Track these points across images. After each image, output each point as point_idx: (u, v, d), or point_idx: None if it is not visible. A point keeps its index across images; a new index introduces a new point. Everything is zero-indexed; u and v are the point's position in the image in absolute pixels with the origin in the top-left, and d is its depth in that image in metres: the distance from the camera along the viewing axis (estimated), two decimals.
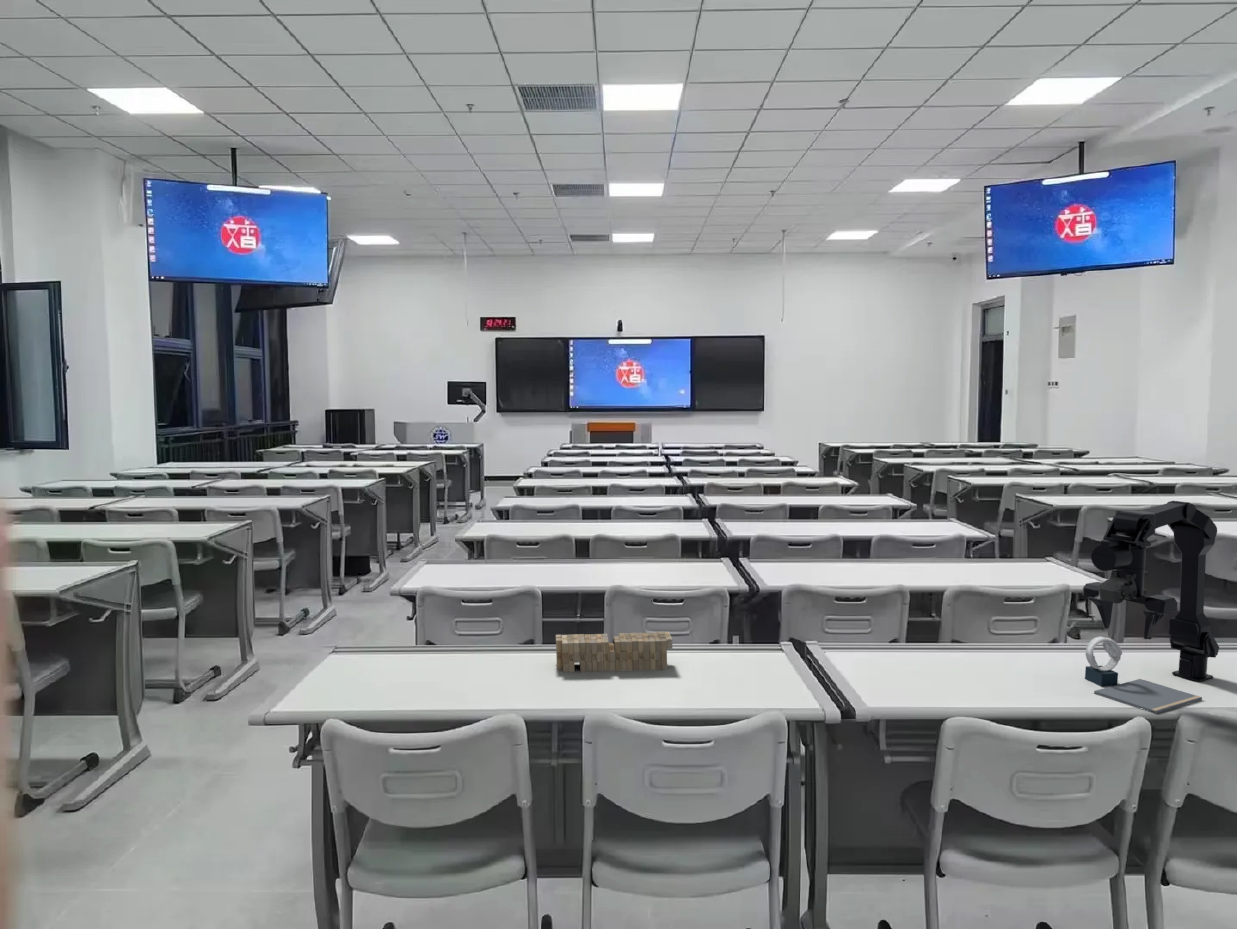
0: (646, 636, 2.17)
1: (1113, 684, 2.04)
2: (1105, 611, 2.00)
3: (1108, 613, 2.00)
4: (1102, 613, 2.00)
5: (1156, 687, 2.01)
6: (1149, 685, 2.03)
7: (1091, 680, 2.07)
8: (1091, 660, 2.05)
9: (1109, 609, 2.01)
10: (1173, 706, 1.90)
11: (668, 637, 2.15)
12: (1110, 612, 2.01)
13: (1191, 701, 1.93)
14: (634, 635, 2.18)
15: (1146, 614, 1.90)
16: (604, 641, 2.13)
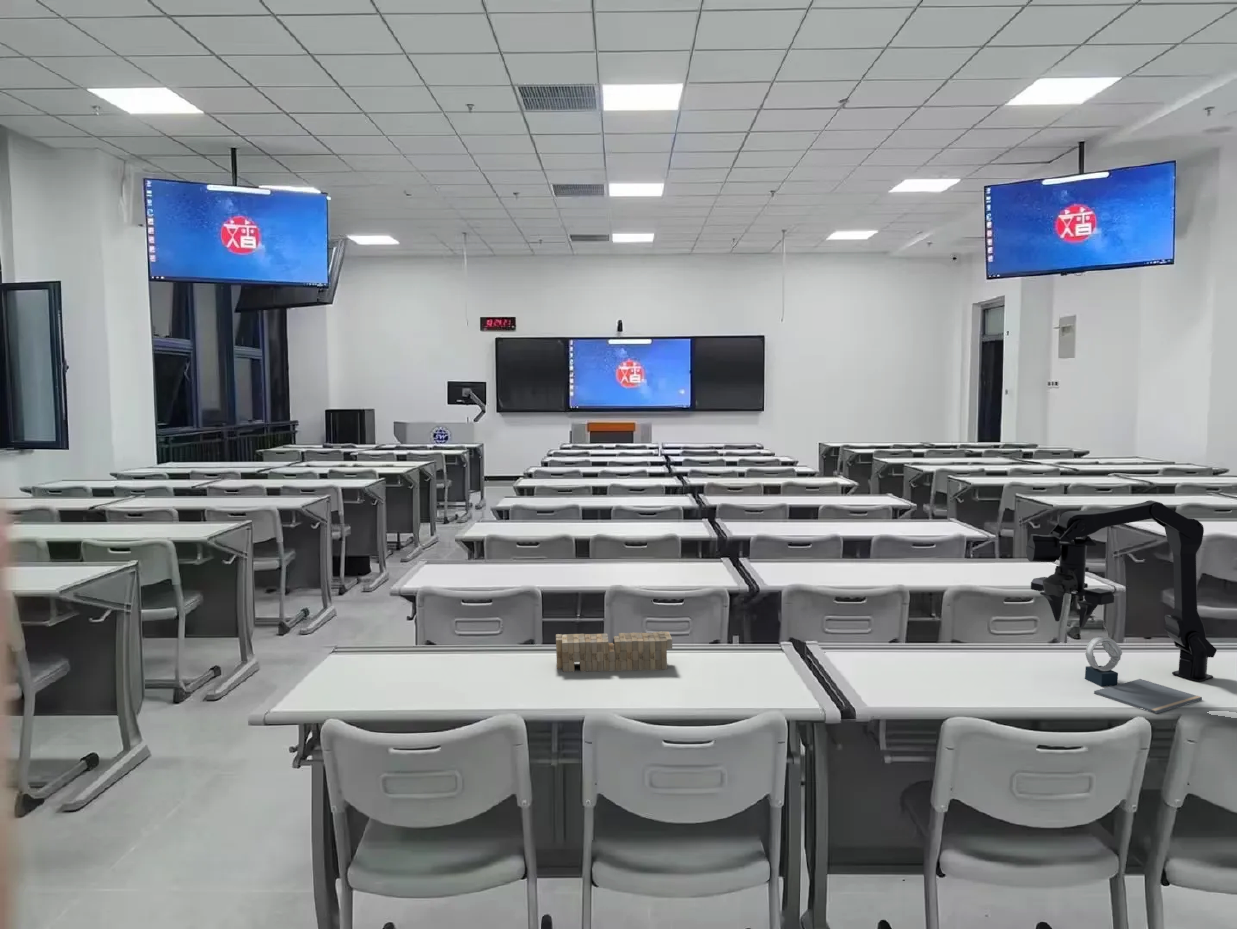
0: (646, 636, 2.18)
1: (1113, 684, 2.04)
2: (1056, 605, 2.16)
3: (1059, 607, 2.16)
4: (1053, 607, 2.16)
5: (1156, 687, 2.01)
6: (1149, 685, 2.03)
7: (1091, 680, 2.07)
8: (1091, 660, 2.05)
9: (1059, 603, 2.16)
10: (1173, 706, 1.90)
11: (668, 637, 2.16)
12: (1060, 606, 2.17)
13: (1191, 701, 1.93)
14: (634, 635, 2.18)
15: (1080, 605, 2.08)
16: (604, 640, 2.14)
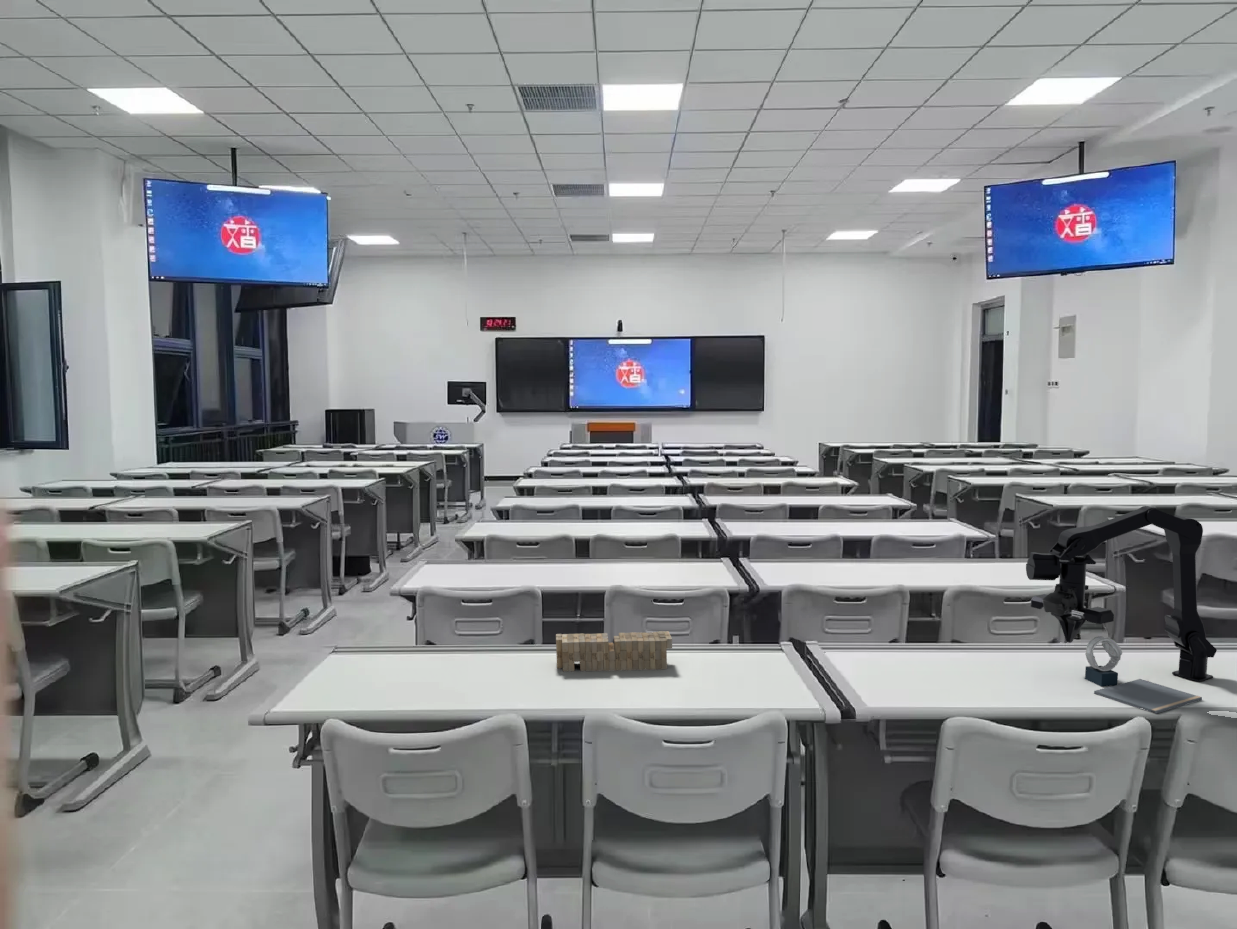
0: (646, 636, 2.18)
1: (1113, 684, 2.04)
2: (1067, 626, 2.13)
3: None
4: (1064, 628, 2.13)
5: (1156, 687, 2.01)
6: (1149, 685, 2.03)
7: (1091, 680, 2.07)
8: (1091, 660, 2.05)
9: None
10: (1173, 706, 1.90)
11: (668, 637, 2.16)
12: None
13: (1191, 701, 1.93)
14: (634, 635, 2.18)
15: (1068, 620, 2.11)
16: (604, 640, 2.14)
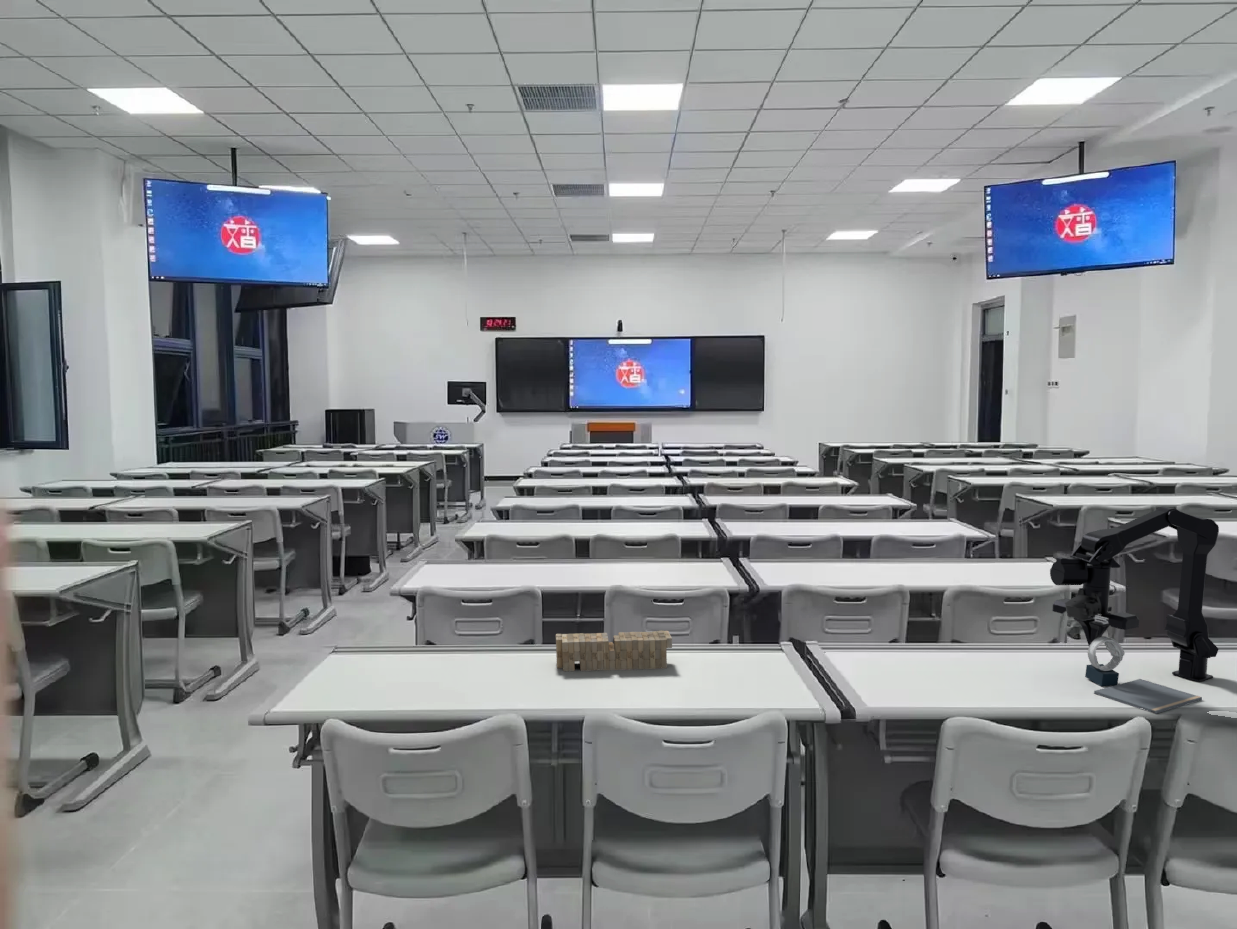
0: (646, 635, 2.18)
1: (1113, 684, 2.04)
2: (1090, 631, 2.08)
3: None
4: (1087, 633, 2.08)
5: (1156, 687, 2.01)
6: (1149, 685, 2.03)
7: (1091, 679, 2.07)
8: (1093, 660, 2.04)
9: None
10: (1173, 706, 1.90)
11: (668, 636, 2.16)
12: None
13: (1191, 701, 1.93)
14: (634, 634, 2.19)
15: (1091, 625, 2.06)
16: (604, 640, 2.14)
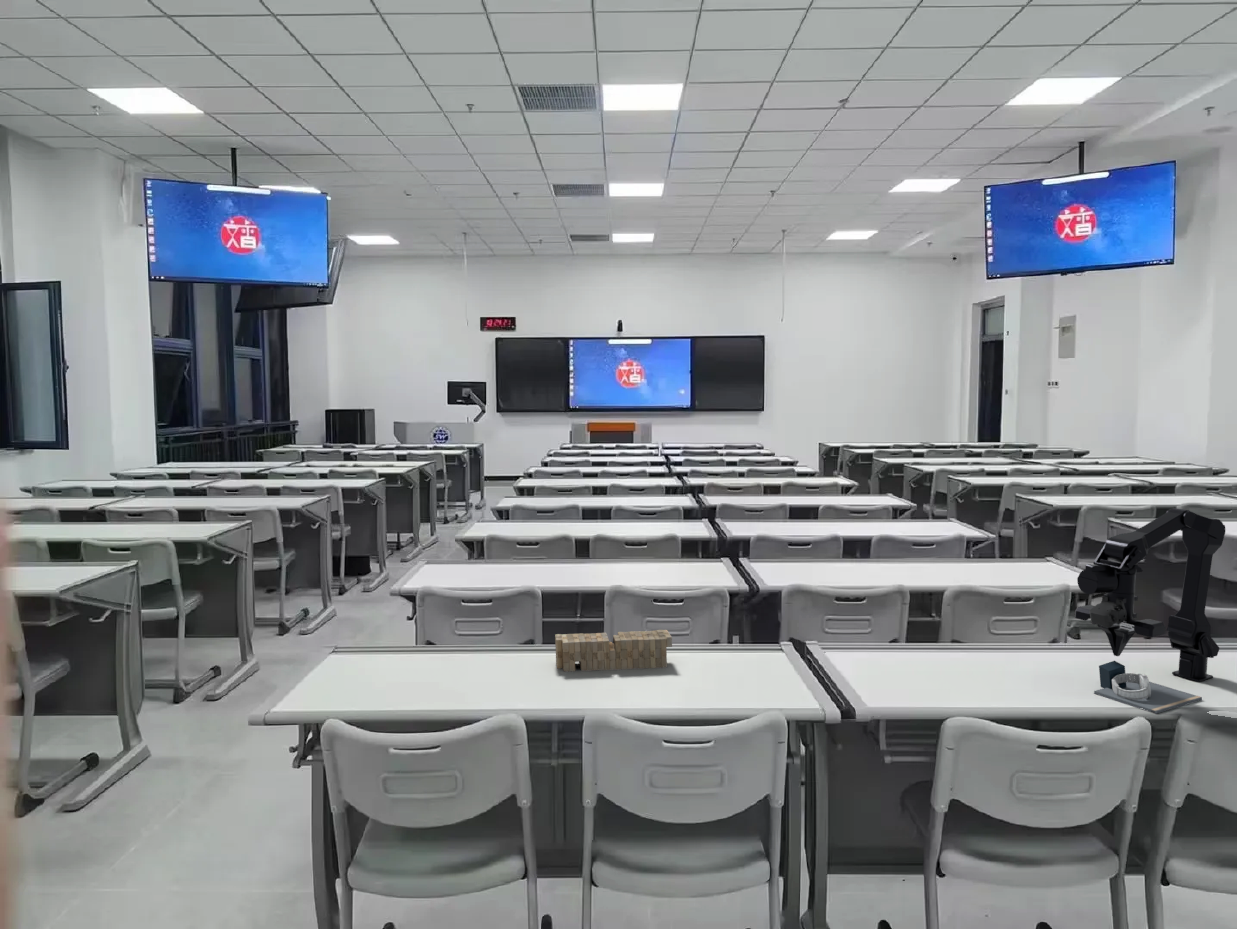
0: (645, 634, 2.19)
1: None
2: (1114, 638, 2.03)
3: None
4: (1111, 640, 2.03)
5: (1156, 687, 2.01)
6: None
7: (1100, 674, 2.02)
8: (1114, 690, 1.97)
9: None
10: (1173, 706, 1.90)
11: (667, 635, 2.17)
12: None
13: (1191, 701, 1.93)
14: (633, 634, 2.19)
15: (1117, 633, 2.00)
16: (604, 639, 2.14)
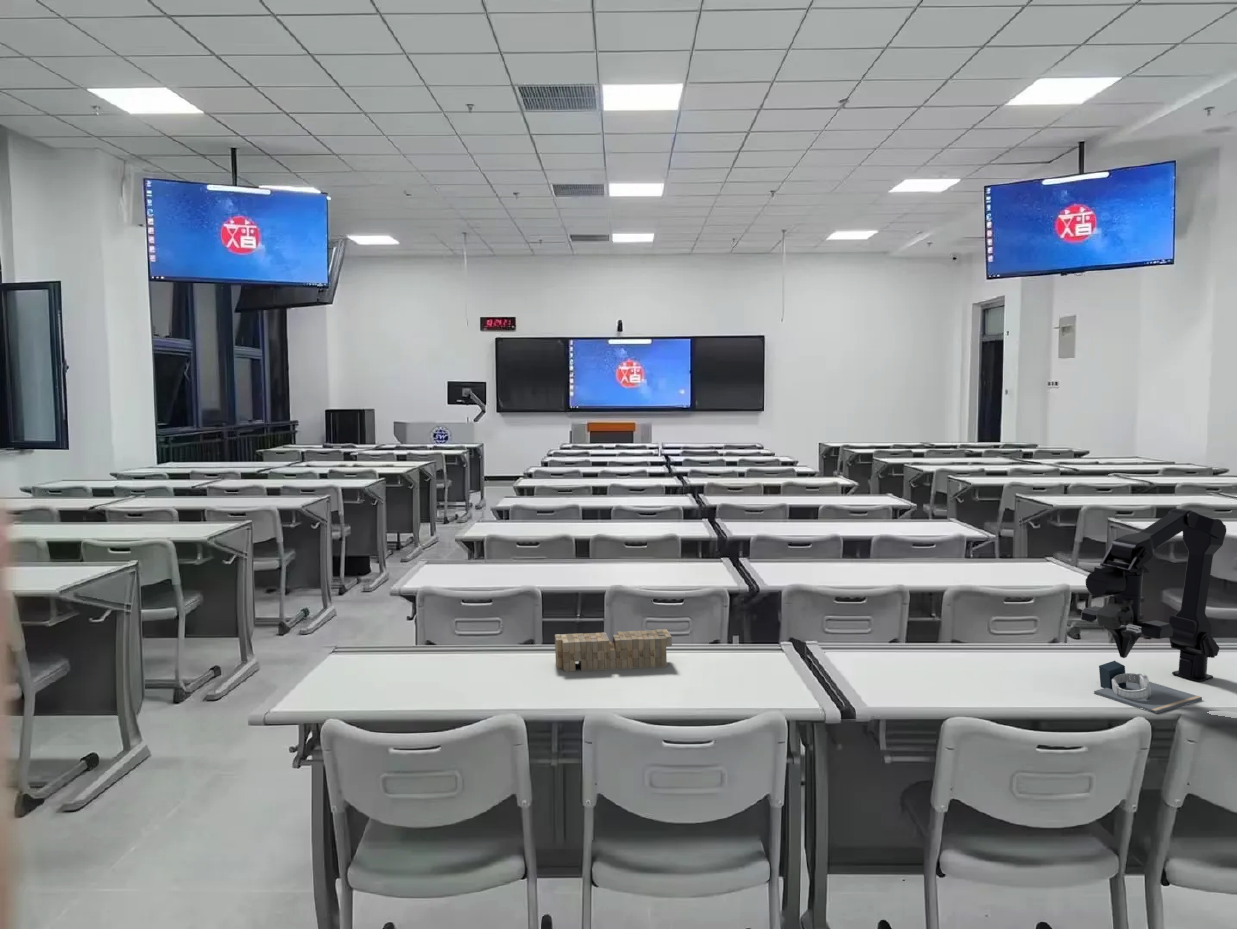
0: (645, 634, 2.19)
1: None
2: (1121, 640, 2.01)
3: None
4: (1118, 642, 2.01)
5: (1156, 687, 2.01)
6: None
7: (1100, 674, 2.02)
8: (1114, 690, 1.97)
9: None
10: (1173, 706, 1.90)
11: (667, 634, 2.18)
12: None
13: (1191, 701, 1.93)
14: (633, 633, 2.20)
15: (1123, 634, 1.99)
16: (604, 639, 2.15)
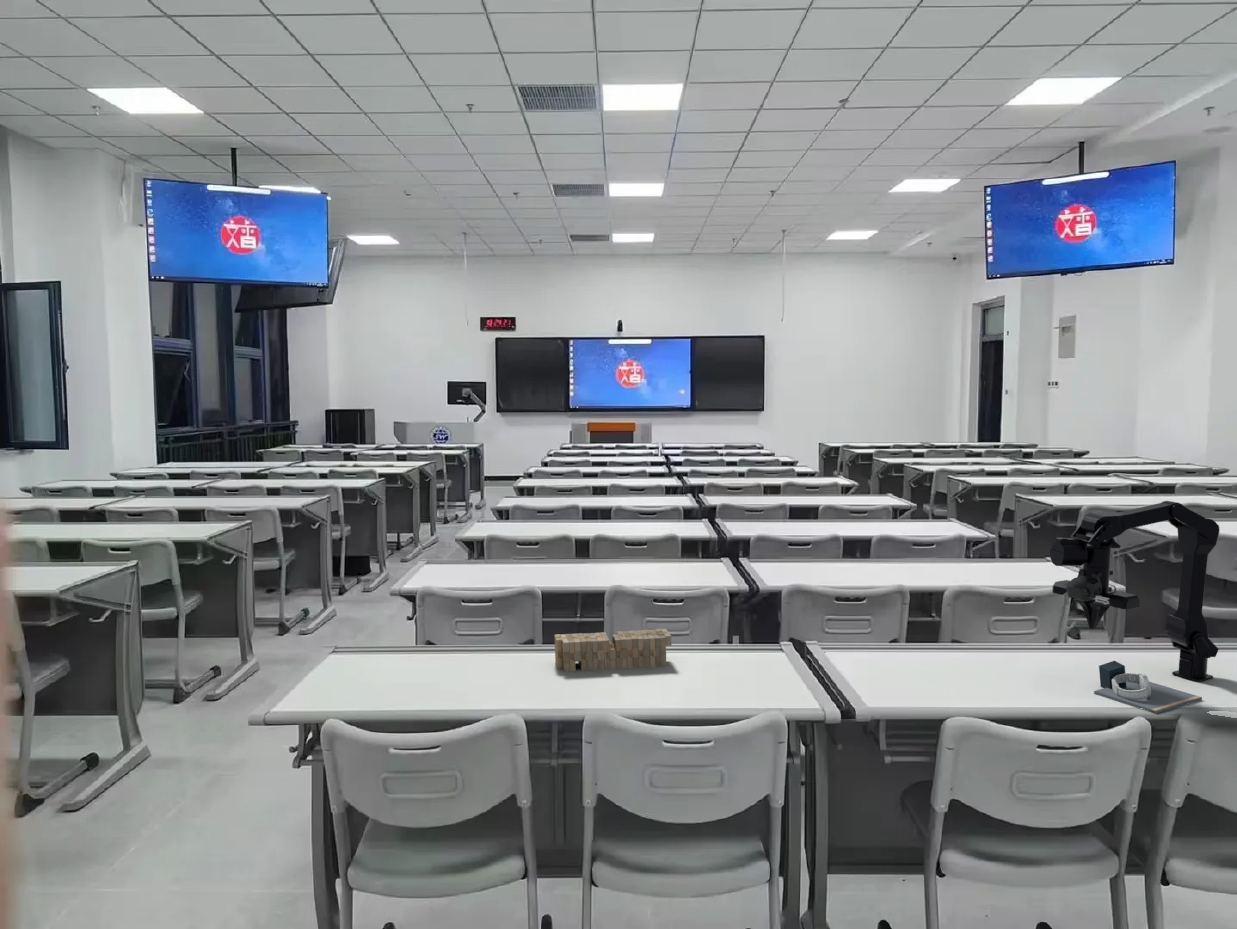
0: (644, 633, 2.20)
1: None
2: (1090, 612, 2.08)
3: None
4: (1087, 614, 2.08)
5: (1156, 687, 2.01)
6: None
7: (1100, 674, 2.02)
8: (1114, 690, 1.97)
9: None
10: (1173, 706, 1.90)
11: (667, 634, 2.18)
12: None
13: (1191, 701, 1.93)
14: (633, 633, 2.20)
15: (1092, 606, 2.05)
16: (604, 639, 2.15)
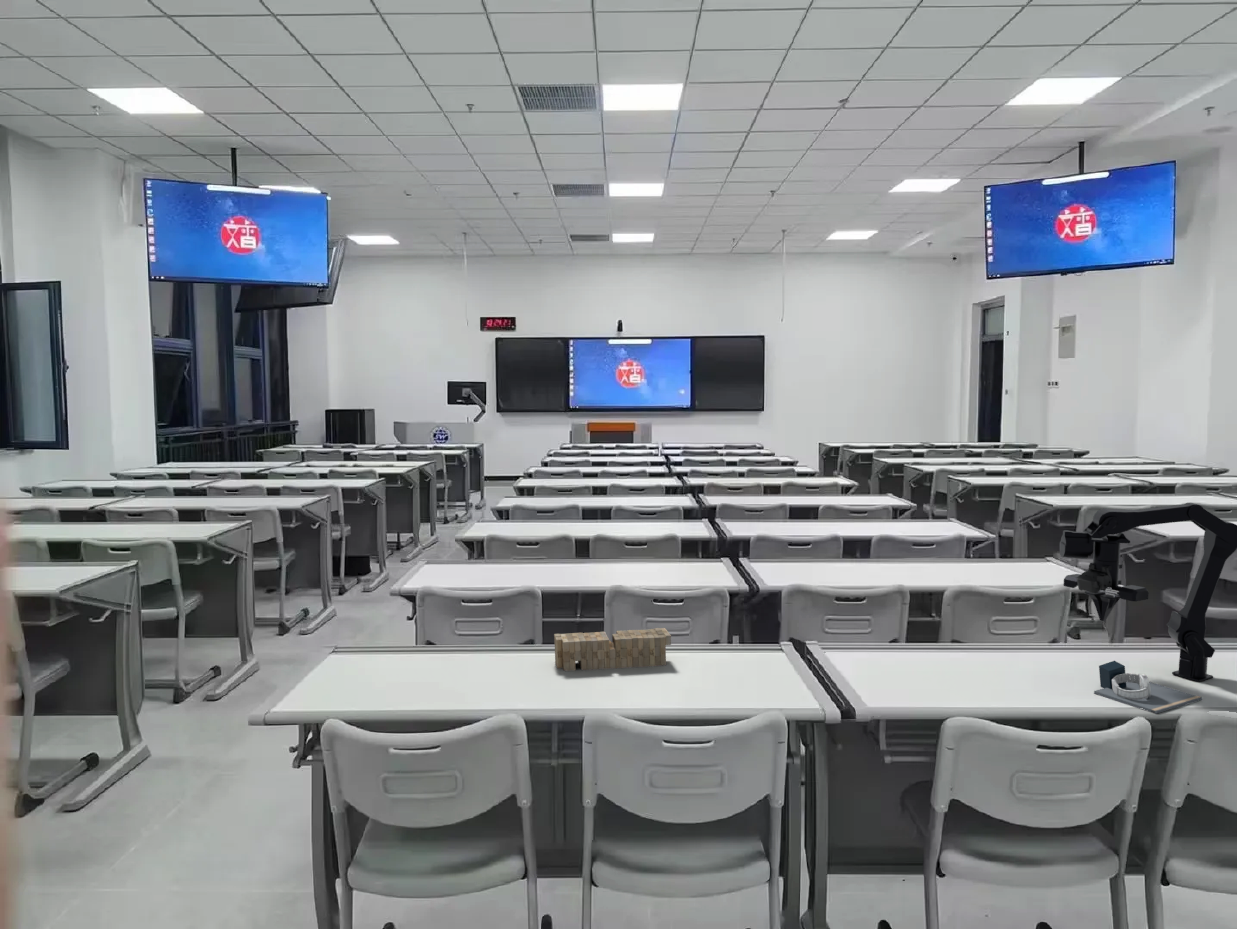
0: (644, 633, 2.20)
1: None
2: (1100, 604, 2.15)
3: None
4: (1098, 606, 2.15)
5: (1156, 687, 2.01)
6: None
7: (1100, 674, 2.02)
8: (1114, 690, 1.97)
9: None
10: (1173, 706, 1.90)
11: (666, 633, 2.19)
12: None
13: (1191, 701, 1.93)
14: (632, 632, 2.20)
15: (1102, 599, 2.12)
16: (604, 638, 2.15)
